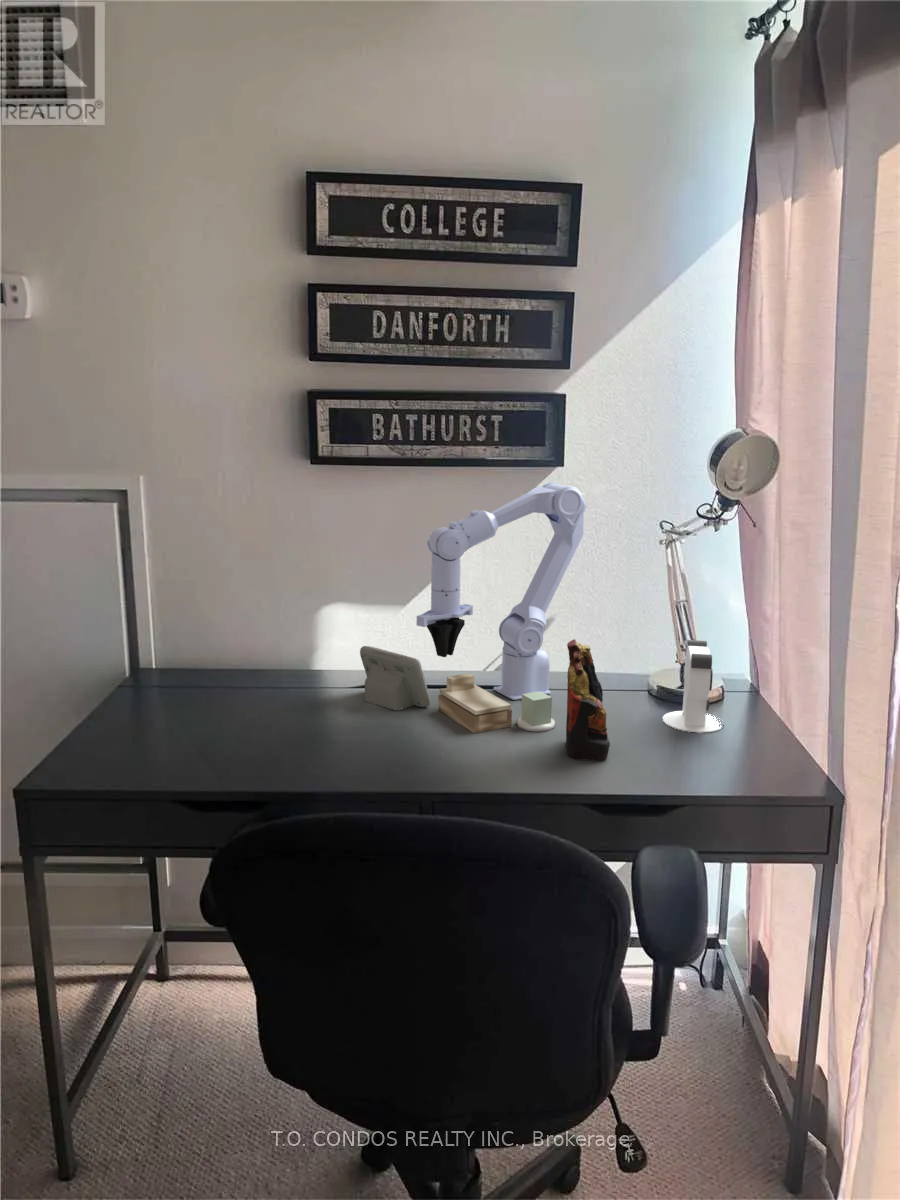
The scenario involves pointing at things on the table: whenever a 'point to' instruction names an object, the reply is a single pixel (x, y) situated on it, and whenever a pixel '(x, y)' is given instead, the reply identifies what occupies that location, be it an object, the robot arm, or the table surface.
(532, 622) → the robot arm
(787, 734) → the table surface
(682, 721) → the white post on disc
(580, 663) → the statue
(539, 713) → the green block
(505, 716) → the pencil box
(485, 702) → the lid
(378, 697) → the digital clock
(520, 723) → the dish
